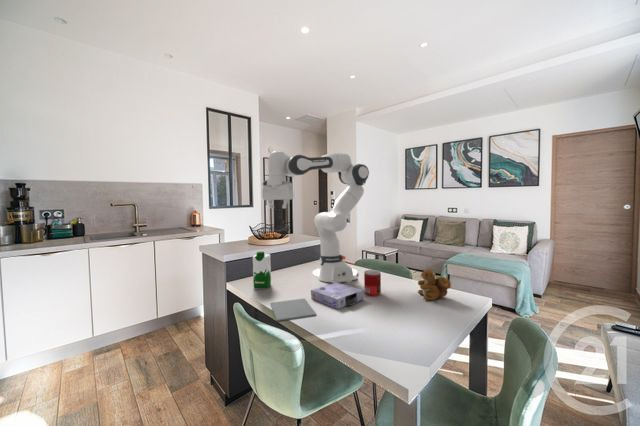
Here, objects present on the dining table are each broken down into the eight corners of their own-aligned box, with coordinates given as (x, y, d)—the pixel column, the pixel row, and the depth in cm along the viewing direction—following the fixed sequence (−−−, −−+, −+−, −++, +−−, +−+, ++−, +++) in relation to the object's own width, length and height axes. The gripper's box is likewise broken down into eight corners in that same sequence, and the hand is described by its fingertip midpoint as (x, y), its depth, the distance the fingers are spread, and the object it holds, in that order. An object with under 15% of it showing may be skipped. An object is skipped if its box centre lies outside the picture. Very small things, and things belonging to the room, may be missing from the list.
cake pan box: (339, 311, 113) (365, 299, 124) (339, 299, 112) (365, 288, 124) (310, 300, 127) (336, 290, 139) (309, 289, 126) (335, 280, 138)
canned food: (380, 296, 128) (380, 274, 128) (364, 295, 130) (363, 273, 129) (380, 291, 136) (380, 270, 135) (364, 290, 137) (364, 269, 137)
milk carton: (251, 291, 140) (250, 253, 139) (257, 285, 149) (256, 250, 148) (268, 291, 139) (267, 253, 138) (272, 286, 148) (272, 250, 147)
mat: (304, 299, 126) (304, 298, 126) (316, 315, 108) (316, 314, 108) (270, 304, 121) (270, 302, 121) (276, 321, 103) (276, 319, 103)
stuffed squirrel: (416, 292, 133) (416, 266, 133) (446, 294, 131) (446, 267, 130) (420, 299, 123) (420, 271, 123) (452, 301, 121) (452, 272, 121)
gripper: (296, 181, 136) (296, 208, 137) (269, 183, 149) (269, 208, 149) (287, 180, 131) (287, 208, 132) (260, 183, 144) (260, 208, 144)
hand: (277, 208), depth 141 cm, fingers open, 8 cm apart
